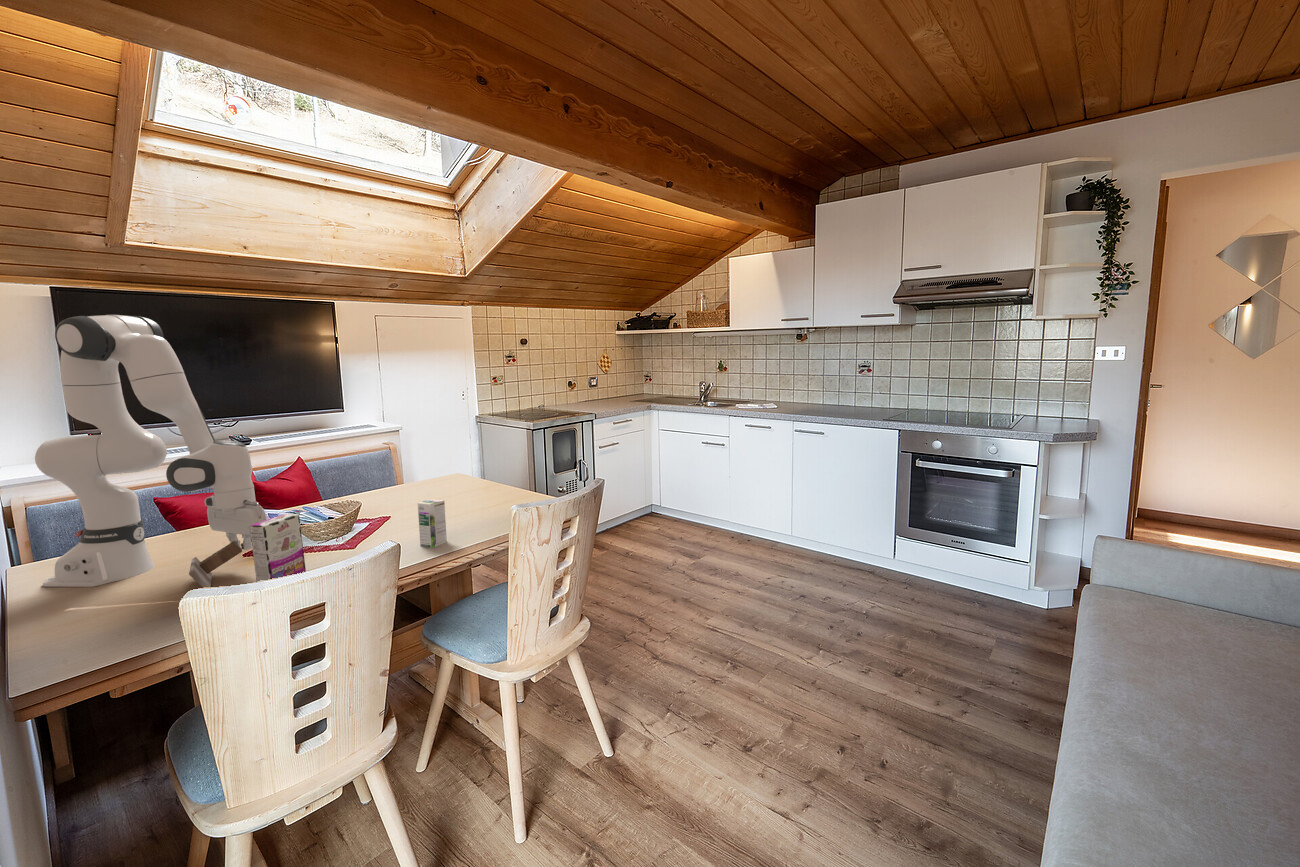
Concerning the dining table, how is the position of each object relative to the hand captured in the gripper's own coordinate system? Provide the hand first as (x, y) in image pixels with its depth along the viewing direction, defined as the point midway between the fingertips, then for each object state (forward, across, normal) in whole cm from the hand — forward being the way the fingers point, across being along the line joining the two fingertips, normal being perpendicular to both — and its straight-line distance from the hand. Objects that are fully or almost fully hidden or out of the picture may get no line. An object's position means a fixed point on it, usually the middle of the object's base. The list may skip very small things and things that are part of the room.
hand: (241, 548), depth 154 cm
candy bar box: (+7, -17, +1) cm, 18 cm away
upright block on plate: (+4, +4, +8) cm, 10 cm away
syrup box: (+7, -36, -34) cm, 50 cm away
